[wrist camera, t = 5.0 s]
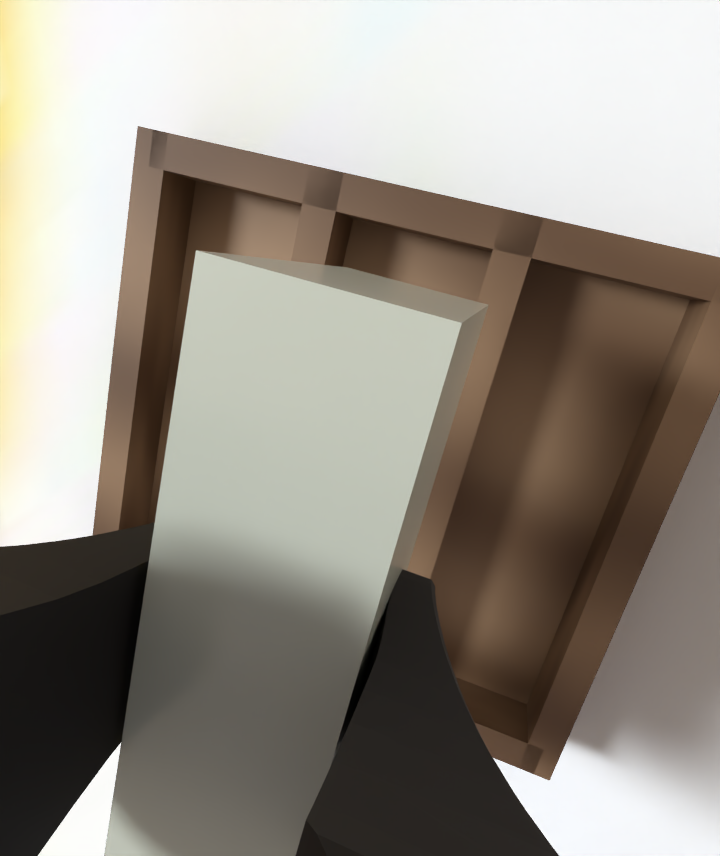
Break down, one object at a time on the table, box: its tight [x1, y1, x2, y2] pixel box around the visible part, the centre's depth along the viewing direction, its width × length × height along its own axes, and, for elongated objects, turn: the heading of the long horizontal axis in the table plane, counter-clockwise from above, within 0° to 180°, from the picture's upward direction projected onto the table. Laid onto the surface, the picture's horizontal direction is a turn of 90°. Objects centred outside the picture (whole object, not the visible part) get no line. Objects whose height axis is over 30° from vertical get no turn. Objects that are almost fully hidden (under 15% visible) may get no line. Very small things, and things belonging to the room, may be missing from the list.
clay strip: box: [104, 250, 488, 856], centre depth 11 cm, size 12×3×6 cm, turn 166°
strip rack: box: [93, 126, 720, 780], centre depth 18 cm, size 16×17×2 cm
